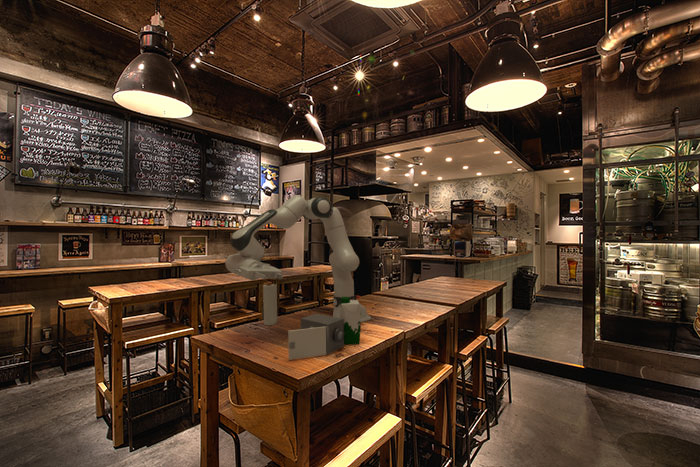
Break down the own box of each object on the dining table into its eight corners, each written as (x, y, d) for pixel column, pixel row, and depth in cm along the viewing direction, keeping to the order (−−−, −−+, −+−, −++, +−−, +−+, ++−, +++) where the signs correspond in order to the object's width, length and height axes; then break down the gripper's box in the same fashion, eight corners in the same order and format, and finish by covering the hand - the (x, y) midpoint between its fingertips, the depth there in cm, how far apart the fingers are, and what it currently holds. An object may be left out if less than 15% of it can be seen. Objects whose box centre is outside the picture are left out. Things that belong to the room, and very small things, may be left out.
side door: (289, 360, 120) (288, 331, 120) (288, 359, 121) (288, 330, 121) (329, 354, 125) (328, 326, 125) (328, 353, 126) (328, 325, 126)
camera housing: (300, 346, 136) (299, 318, 136) (316, 339, 144) (316, 313, 144) (331, 355, 125) (330, 325, 125) (347, 347, 133) (347, 319, 133)
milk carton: (340, 339, 144) (339, 295, 144) (359, 338, 145) (358, 295, 145) (341, 345, 135) (340, 299, 135) (361, 345, 136) (361, 299, 136)
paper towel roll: (263, 326, 166) (263, 286, 165) (263, 323, 171) (263, 284, 171) (277, 325, 167) (277, 285, 167) (277, 321, 173) (276, 283, 173)
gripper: (234, 261, 131) (255, 269, 123) (270, 263, 148) (291, 270, 140) (231, 276, 131) (252, 285, 123) (267, 276, 148) (288, 284, 140)
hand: (273, 277), depth 132 cm, fingers open, 8 cm apart
